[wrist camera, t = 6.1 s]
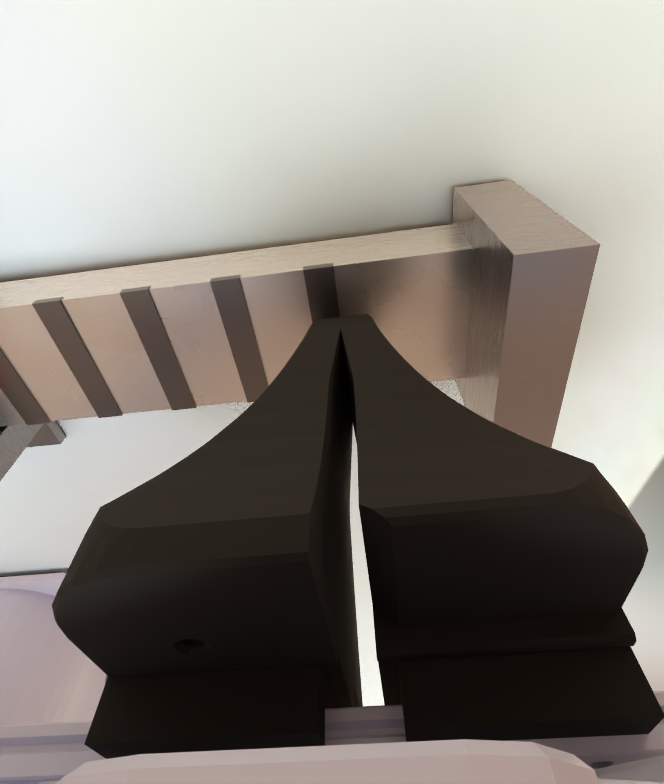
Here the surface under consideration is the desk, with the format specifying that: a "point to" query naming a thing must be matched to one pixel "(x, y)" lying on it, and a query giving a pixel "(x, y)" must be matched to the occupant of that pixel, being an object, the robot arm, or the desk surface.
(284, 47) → the desk surface
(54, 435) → the collar
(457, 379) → the bar
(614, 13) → the desk surface
